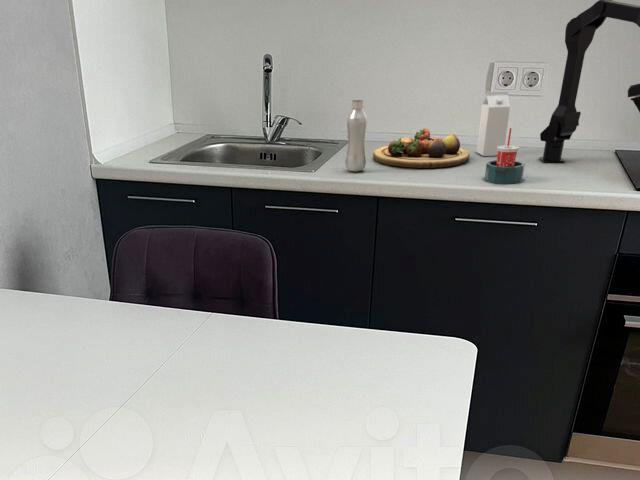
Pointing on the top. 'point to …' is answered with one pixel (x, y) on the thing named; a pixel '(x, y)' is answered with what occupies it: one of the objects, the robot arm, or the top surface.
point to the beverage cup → (506, 154)
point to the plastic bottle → (356, 137)
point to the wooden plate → (423, 152)
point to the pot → (504, 173)
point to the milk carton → (493, 123)
